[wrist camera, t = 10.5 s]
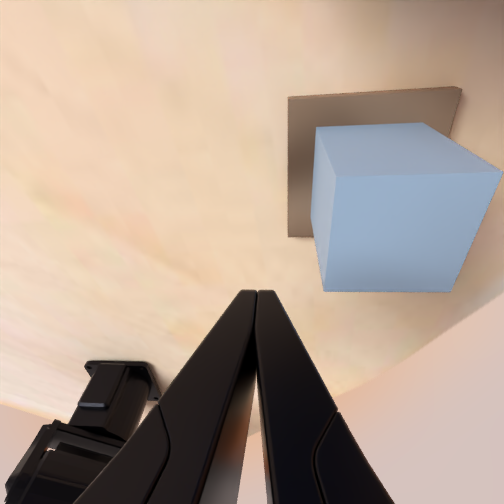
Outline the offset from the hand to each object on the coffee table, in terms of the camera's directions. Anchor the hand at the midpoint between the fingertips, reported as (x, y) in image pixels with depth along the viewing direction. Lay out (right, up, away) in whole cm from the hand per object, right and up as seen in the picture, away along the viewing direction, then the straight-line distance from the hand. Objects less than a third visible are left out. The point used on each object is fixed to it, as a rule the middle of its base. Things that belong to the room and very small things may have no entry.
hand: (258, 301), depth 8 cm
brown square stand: (+6, +6, +10) cm, 13 cm away
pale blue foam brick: (+6, +6, +9) cm, 12 cm away
